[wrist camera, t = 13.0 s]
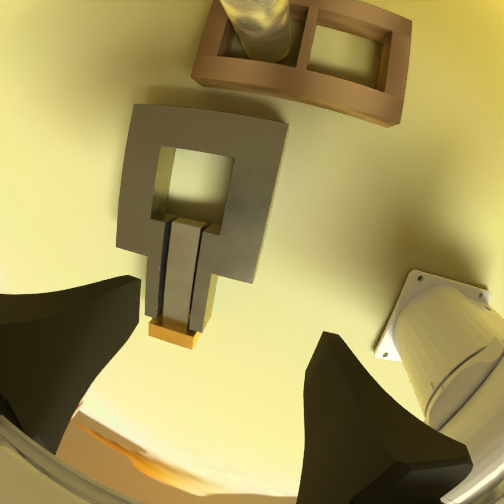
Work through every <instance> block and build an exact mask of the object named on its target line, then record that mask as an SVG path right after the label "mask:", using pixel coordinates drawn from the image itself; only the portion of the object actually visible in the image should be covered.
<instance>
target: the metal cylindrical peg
mask: <svg viewBox="0 0 504 504" xmlns="http://www.w3.org/2000/svg"><path fill="white" fill-rule="evenodd" d="M220 2H221V3H222V5H223V7H224V9H225V11H226V13H227V15H228V17H229V19H230V21H231V23H232V25H233V27H234V29H235V31H236V33H237V35H238V37H239V40H240V42H241V44H242V46H243V48H244V50H245V52H246V54H247V55H248V57H249V58H251V59H252V60H255V61H262V62H268V63H276V62H278V61H280V60H282V59H283V58H285V57H286V56H287V54H288V53H289V51H290V48H291V37H290V13H289V0H220Z"/></svg>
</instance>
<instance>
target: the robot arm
mask: <svg viewBox="0 0 504 504" xmlns="http://www.w3.org/2000/svg"><path fill="white" fill-rule="evenodd" d="M419 276H422V277H421V279H420V280H418V277H419ZM140 289H141V279H138V278H135V277H133V276H130V275H124V276H119V277H115V278H111V279H107V280H103V281H99V282H96V283H92V284H88V285H84V286H80V287H75V288H71V289H66V290H61V291H55V292H48V293H39V294H17V295H13V294H0V504H147V503H144V502H141V501H139V500H137V499H134V498H132V497H130V496H128V495H125V494H123V493H121V492H118V491H116V490H114V489H112V488H110V487H108V486H106V485H104V484H102V483H100V482H98V481H97V480H94V479H93V478H91V477H89V476H87V475H86V474H84V473H82V472H80V471H78V470H77V469H75V468H73V467H72V466H70V465H69V464H67V463H65V462H64V461H62V460H60V459H59V458H58V457H56V456H55V454H56V451H57V449H58V446H59V444H60V442H61V439H62V437H63V434H64V432H65V430H66V428H67V426H68V424H69V422H70V420H71V418H72V416H73V414H74V412H75V410H76V409H77V407H78V405H79V403H80V401H81V400H82V398H83V396H84V395H85V393H86V392H87V390H88V388H89V387H90V385H91V384H92V382H93V381H94V379H95V378H96V377H97V375H98V374H99V373H100V372H101V371H102V370H103V368H104V367H105V366H106V365H107V364H108V362H109V361H110V360H111V359H112V358H113V357H114V356H115V354H116V353H117V352H118V351H119V350H120V348H121V347H122V346H123V345H124V344H125V343H126V341H127V340H128V339H129V337H130V336H131V334H132V333H133V331H134V329H135V328H136V326H137V324H138V323H139V307H140ZM480 293H481V294H480ZM479 294H480V296H479ZM490 299H491V292H489V291H488V290H485V289H481V288H478V287H475V286H471V285H468V284H464V283H461V282H458V281H454V280H451V279H447V278H444V277H440V276H437V275H433V274H430V273H426V272H423V271H419V270H412V271H410V272H409V274H408V277H407V279H406V282H405V284H404V287H403V289H402V292H401V294H400V297H399V299H398V301H397V304H396V306H395V308H394V311H393V313H392V315H391V317H390V319H389V322H388V324H387V326H386V328H385V330H384V332H383V334H382V337H381V339H380V341H379V343H378V345H377V347H376V349H375V351H374V355H375V357H376V358H379V359H386V360H393V361H400V362H402V363H403V366H404V368H405V370H406V372H407V375H408V377H409V379H410V382H411V384H412V386H413V389H414V391H415V394H416V396H417V399H418V401H419V404H420V406H421V409H422V411H423V414H424V416H425V421H424V422H422V421H421V420H419V419H418V418H416V417H415V416H414V415H412V414H411V413H410V412H408V411H407V410H406V409H405V408H403V407H402V406H401V405H400V404H399V403H397V402H396V401H395V400H394V399H393V398H392V397H391V396H390V395H389V394H388V393H387V392H386V391H385V390H384V389H383V388H382V387H381V386H380V385H379V384H378V383H377V382H376V381H375V380H374V378H373V377H372V376H371V375H370V374H369V373H368V371H367V370H366V369H365V368H364V367H363V365H362V364H361V363H360V361H359V360H358V359H357V358H356V356H355V355H354V354H353V352H352V351H351V350H350V348H349V347H348V346H347V344H346V343H345V342H344V341H343V339H342V338H341V337H340V336H339V335H338V334H334V333H329V332H325V331H323V333H322V335H321V338H320V340H319V342H318V345H317V347H316V349H315V351H314V354H313V356H312V358H311V360H310V362H309V365H308V367H307V369H306V371H305V381H304V391H303V397H304V427H305V449H304V458H303V467H302V474H301V480H300V487H299V492H298V497H297V503H296V504H504V319H503V318H502V317H501V316H500V315H499V314H498V313H497V312H496V311H495V310H494V309H493V308H492V307H490V306H489V305H488V303H489V301H490ZM385 352H387V353H386V354H384V353H385ZM35 468H36V469H35ZM39 471H40V472H39ZM43 474H44V475H43ZM46 476H47V477H46ZM49 478H50V479H51V480H50V479H49ZM53 481H54V482H53ZM56 483H57V484H56ZM59 485H60V486H59ZM61 486H62V487H61ZM64 488H65V489H64ZM67 490H68V491H67ZM69 491H70V492H69ZM72 493H73V494H72ZM74 494H75V495H74ZM77 496H78V497H77ZM79 497H80V498H79ZM82 499H83V500H82ZM84 500H85V501H84ZM86 501H87V502H86Z"/></svg>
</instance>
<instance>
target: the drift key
mask: <svg viewBox="0 0 504 504" xmlns="http://www.w3.org/2000/svg"><path fill="white" fill-rule="evenodd" d="M207 224H208V223H206V222H202V221H197V220H193V219H189V218H184V217H180V218H178V219H176V220H174V221H172V227H171V235H170V244H169V252H168V261H167V271H166V282H165V293H164V306H163V312H162V313H161V314H160V315H159V317H158V318H157V319H155V318H152V320H151V321H150V322H149V336H152V337H155V338H158V339H161V340H164V341H167V342H170V343H173V344H176V345H179V346H182V347H185V348H189V349H193V347H194V345H195V343H196V341H197V339H198V338H199V336H200V334H201V333H200V332H197V331H194V330H190V329H189V325H190V317H191V309H192V301H193V294H194V286H195V279H196V272H197V266H198V259H199V253H200V246H201V240H202V234H203V231H204V230H205V229H207Z"/></svg>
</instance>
